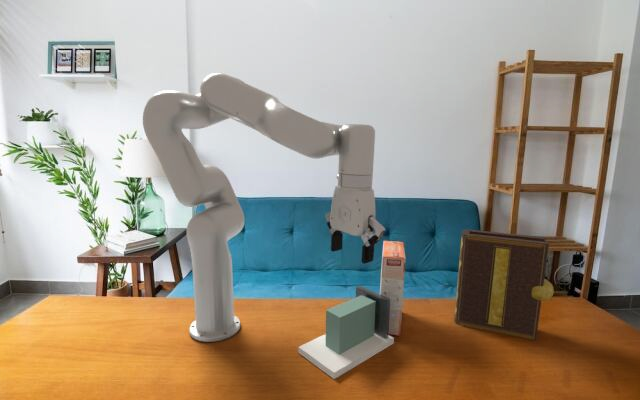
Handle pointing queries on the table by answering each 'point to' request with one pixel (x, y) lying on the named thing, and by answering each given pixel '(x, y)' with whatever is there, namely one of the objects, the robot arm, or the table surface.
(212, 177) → the robot arm
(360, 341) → the book block
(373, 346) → the shelf board
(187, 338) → the table surface
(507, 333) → the book
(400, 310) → the cracker box
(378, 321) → the bookend
